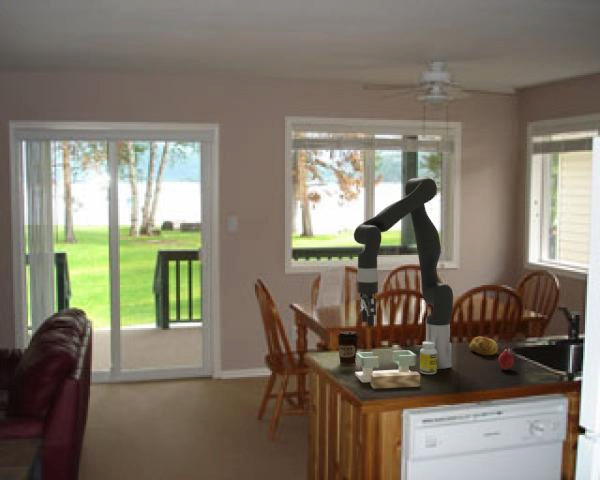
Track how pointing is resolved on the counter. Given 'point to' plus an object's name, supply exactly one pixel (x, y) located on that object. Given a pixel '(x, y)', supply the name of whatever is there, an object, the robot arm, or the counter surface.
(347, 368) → the counter surface
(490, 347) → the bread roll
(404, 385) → the tan rectangular bar
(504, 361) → the onion
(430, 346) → the pill bottle
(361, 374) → the bracket stand
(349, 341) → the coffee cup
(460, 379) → the counter surface
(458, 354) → the counter surface
